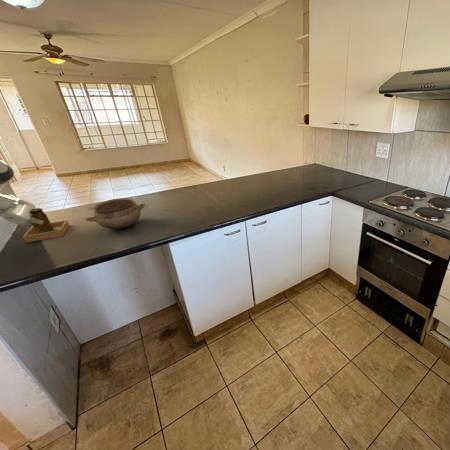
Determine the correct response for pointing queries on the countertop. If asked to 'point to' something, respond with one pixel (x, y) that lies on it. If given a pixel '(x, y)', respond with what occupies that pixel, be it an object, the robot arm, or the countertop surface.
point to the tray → (33, 236)
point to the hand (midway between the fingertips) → (44, 219)
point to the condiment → (46, 225)
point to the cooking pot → (116, 213)
